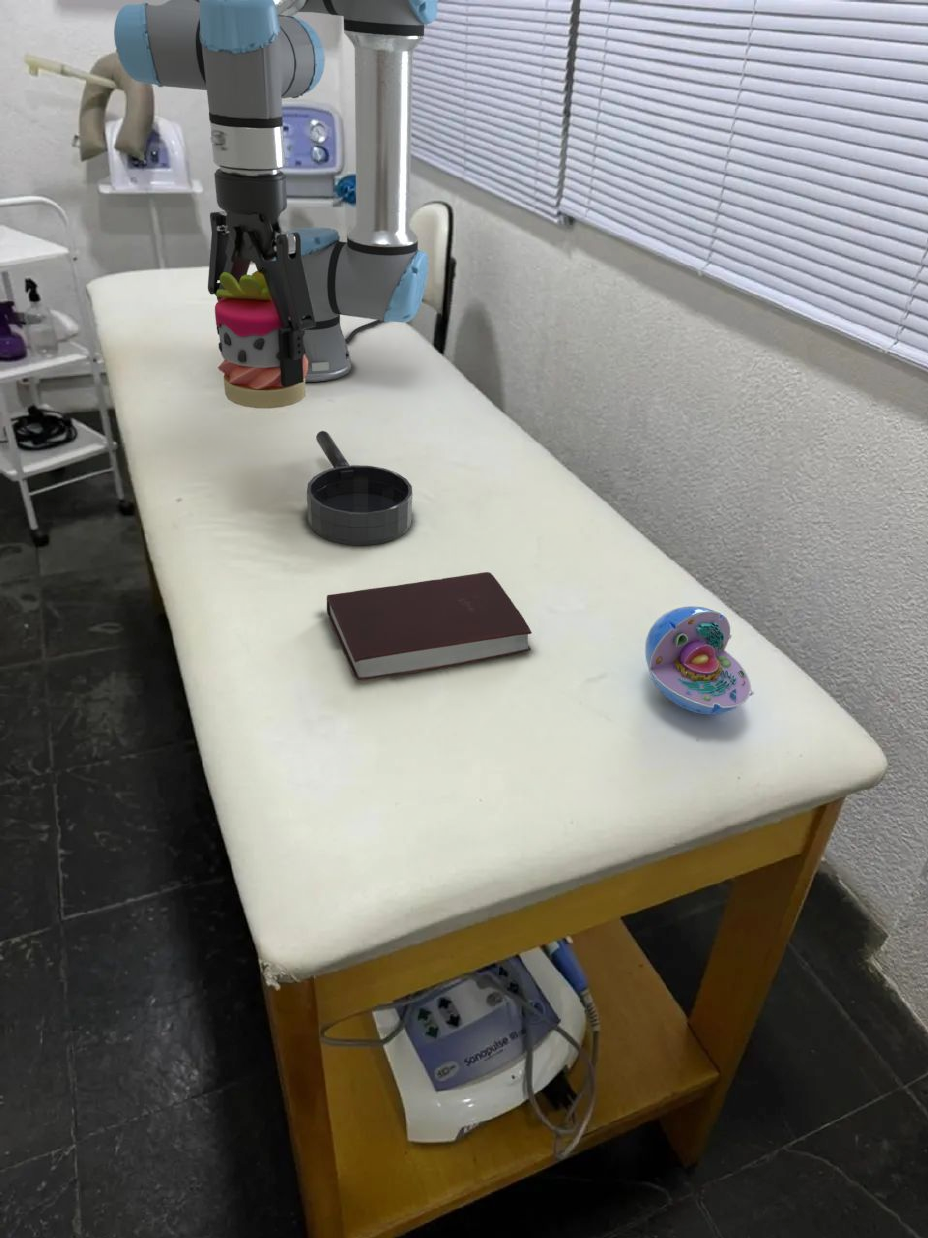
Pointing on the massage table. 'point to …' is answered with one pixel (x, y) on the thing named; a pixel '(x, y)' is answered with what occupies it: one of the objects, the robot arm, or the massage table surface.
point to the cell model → (696, 661)
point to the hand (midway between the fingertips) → (264, 370)
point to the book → (426, 625)
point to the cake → (252, 345)
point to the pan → (359, 505)
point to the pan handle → (333, 454)
